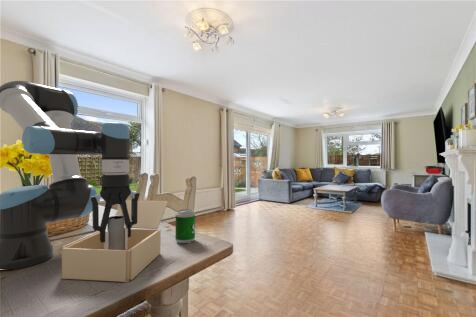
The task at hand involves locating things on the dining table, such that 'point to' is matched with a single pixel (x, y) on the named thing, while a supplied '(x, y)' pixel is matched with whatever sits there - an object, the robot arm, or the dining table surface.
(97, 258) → the carton
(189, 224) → the soda can
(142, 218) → the flap
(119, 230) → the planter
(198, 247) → the dining table surface
